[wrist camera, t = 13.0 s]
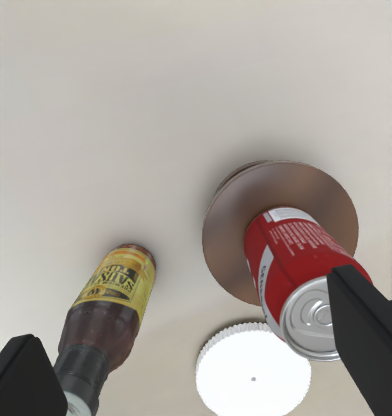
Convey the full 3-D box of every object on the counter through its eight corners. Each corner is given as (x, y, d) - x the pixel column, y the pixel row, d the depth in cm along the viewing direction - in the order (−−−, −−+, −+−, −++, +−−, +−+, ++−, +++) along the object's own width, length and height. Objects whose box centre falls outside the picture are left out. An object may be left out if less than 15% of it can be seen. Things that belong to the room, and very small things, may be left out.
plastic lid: (208, 308, 41) (208, 321, 39) (318, 327, 42) (326, 341, 40) (186, 398, 45) (186, 414, 43) (288, 414, 46) (293, 431, 44)
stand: (176, 229, 38) (172, 258, 31) (252, 124, 35) (266, 129, 28) (274, 291, 41) (291, 332, 33) (354, 198, 37) (392, 221, 30)
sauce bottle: (150, 236, 39) (105, 365, 20) (162, 285, 40) (131, 445, 21) (95, 246, 39) (-3, 382, 20) (109, 294, 41) (32, 459, 22)
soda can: (259, 193, 29) (299, 250, 18) (330, 218, 30) (413, 289, 18) (231, 260, 31) (251, 352, 20) (298, 282, 32) (356, 383, 20)
